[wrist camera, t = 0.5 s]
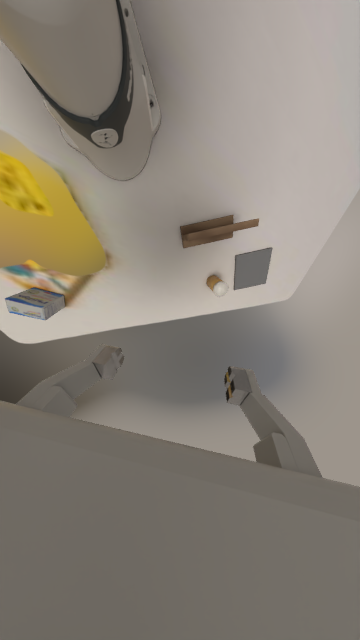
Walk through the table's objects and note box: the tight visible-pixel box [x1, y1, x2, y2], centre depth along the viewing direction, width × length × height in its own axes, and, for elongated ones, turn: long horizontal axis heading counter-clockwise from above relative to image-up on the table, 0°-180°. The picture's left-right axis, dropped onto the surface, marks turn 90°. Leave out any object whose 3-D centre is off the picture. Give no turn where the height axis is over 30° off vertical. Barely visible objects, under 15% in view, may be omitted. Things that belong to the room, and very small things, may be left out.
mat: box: [234, 248, 272, 290], centre depth 42 cm, size 11×11×1 cm
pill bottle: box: [207, 275, 228, 296], centre depth 39 cm, size 4×4×8 cm
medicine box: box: [5, 288, 65, 320], centre depth 37 cm, size 8×4×9 cm, turn 68°
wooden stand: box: [180, 215, 259, 248], centre depth 30 cm, size 5×14×12 cm, turn 101°
